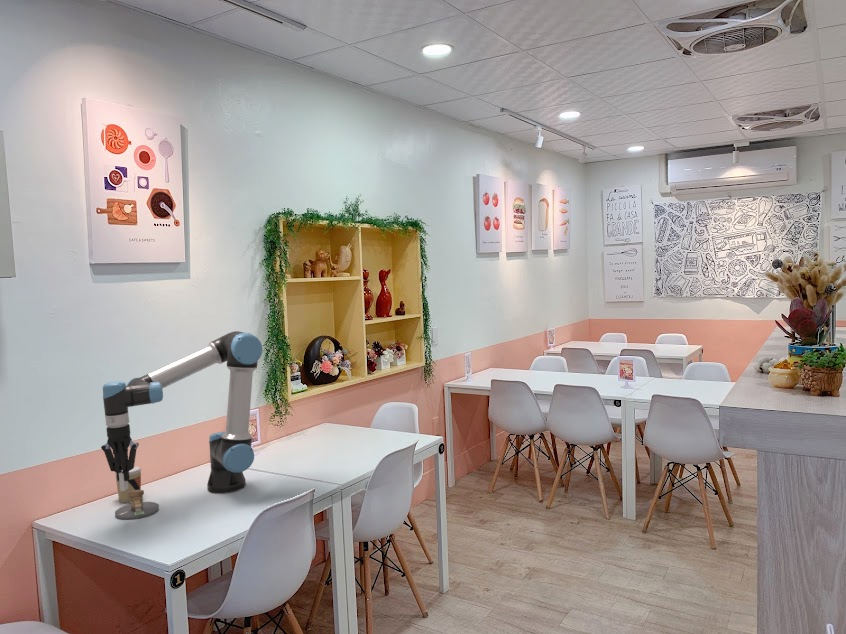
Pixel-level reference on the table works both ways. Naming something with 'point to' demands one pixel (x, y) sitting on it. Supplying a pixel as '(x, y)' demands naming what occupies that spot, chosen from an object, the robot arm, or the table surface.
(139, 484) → the coffee cup
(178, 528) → the table surface
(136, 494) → the peg dial
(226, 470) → the robot arm
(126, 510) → the plate
